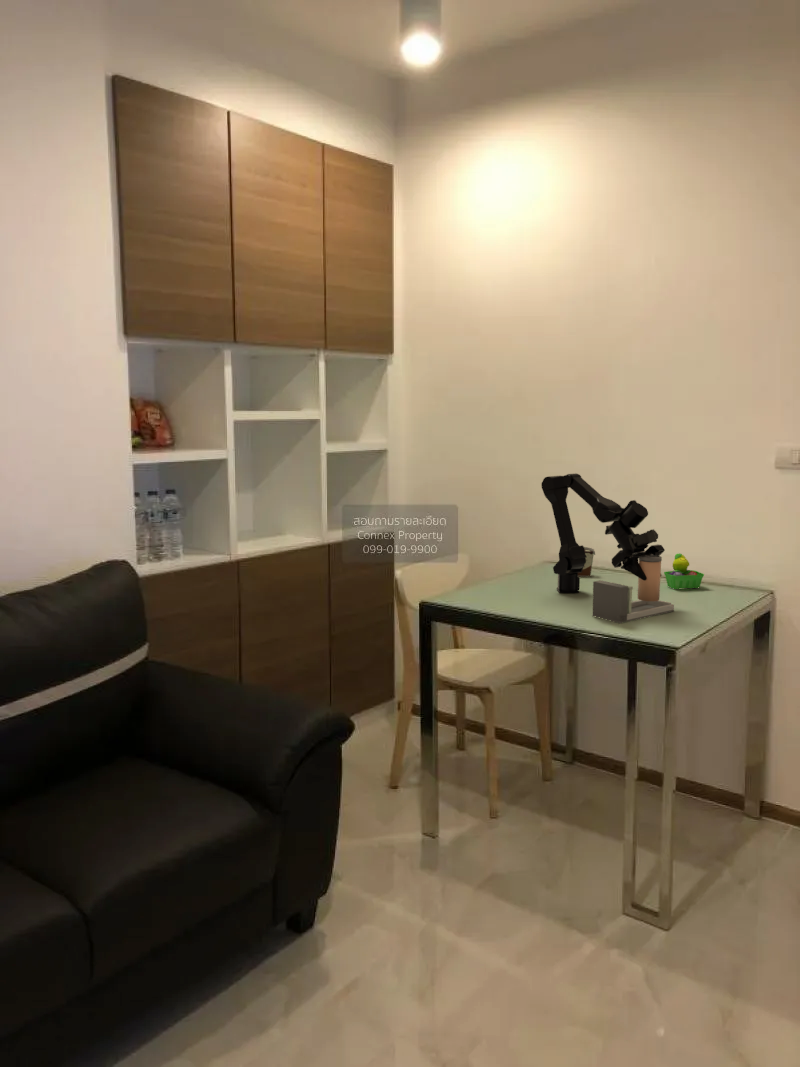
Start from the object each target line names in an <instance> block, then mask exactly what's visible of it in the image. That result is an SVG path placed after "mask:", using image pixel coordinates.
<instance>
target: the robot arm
mask: <svg viewBox="0 0 800 1067" xmlns="http://www.w3.org/2000/svg"><path fill="white" fill-rule="evenodd" d="M540 484H541V489H542V492H543V495H544V497H545V498H546V499H547V501H548V502H549V503H550V505H551V508H552V512H553V517H554V521H555V524H556V525H555V526H556V529H557V530H556V531H557V533H558V538H559V542H560V548H559V551H558V559H559V560H558V561H557V562H556V564H554V566H553V567H552V569H553V570H552V571H553V574H554V575H557V587H556V590H557V592H558V593H560V594H566V593H567V594H569V593H572V594H575V593H576V594H577V593H579V592H580V586H581V585H580V584H581V582H580V580H581V579H580V576H578V573H581V572H582V570H583V567H584V565H585V563H586V558H585V557H587V556H586V555H585V551H584V547H585V546H584V545H582V544H581V545H580V544H579V543H577V541H576V538H575V537H576V536H575V533H574V532H575V531H574V529H573V525H572V520H571V516H570V515H571V514H570V512H569V507H568V504H567V498H568V494H569V488H570V489H571V490H572V491H573V492H574V493H575V494H577V495H578V496H579V497H580V498H581V499H582V500H583V501H584V502H585V503H586V504H587V505H588V506H589V507H590V508H591V510H592V513H593V515H594V516H595V517H596V519H597V520H598V521H599V522H600V523H602V524H605V523H611V524H610V525H605V531H604V534H605V535H612V536H613V538H614V539H615V540H616V542H617V543H618V544H617V546H616V547H617V549H618V552H617V553H616V554H615V555H614V556H612V558H611V564H612V566H613V568H614V569H617V568H620V569H622V570H625V571H627V572H629V573H631V574H632V575H634V576H636V577H637V578H638V577H639V578H641V579H642V580H644V581H645V580H646V579H647V577H646V575H645V573H644V572H643V570H642V568H641V566H640V565H639V556H640V555H657V556H661V555H662V554H663V553H665V548H664V547H663V545H662V544H652V543H656V542H657V541H658V539H659V533H658V532H657V530H655V528H653V529H649V530H647V531H645V532H643V533H635V532H634V531H633V529H635V528H637V527H638V526H639V525H640V524H641V523H642V522H643V521H644V520H645V519H647V517H648V515H649V511H648V509H647V507H645V506H644V505H642V504H641V503H639V502H637V500H636V499H634V500H630V501H629V502H628V503H627V505H626V506H625V507H622V506H621V505H620V504H619V503H617V502H616V501H614V500H613V499H610V498H606V497H604V496H603V495H602V494H601V493H599V491H597V490H596V489H594V487H592V486H591V485H590V484H589V482H587V481H586V480H584V479H583V477H582V476H581V474H579V473H576V472H575V473H567V474H565V475H552V476H551V475H550V476H546V477H544V478H543V479H542V482H541V483H540ZM649 544H652V545H650V546H649ZM619 549H621V550H619ZM662 576H663V575H662V574H661V577H662Z"/></svg>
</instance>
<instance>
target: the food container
mask: <svg viewBox="0 0 800 1067" xmlns="http://www.w3.org/2000/svg"><path fill="white" fill-rule="evenodd" d="M584 551H585V555H586V556H587V557H585V558H586V563H585V565H584V567H583V570H582V572H581V573H578V577H588V576H592V575H591V574H592V569H593V562H594V556H596V551H595V549H594V548H592V547H586V546H584Z"/></svg>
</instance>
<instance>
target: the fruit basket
mask: <svg viewBox="0 0 800 1067" xmlns="http://www.w3.org/2000/svg"><path fill="white" fill-rule="evenodd" d="M689 566H690V562H689V560H688V559H687V558H686V557H685V555H684V554H682V553H679V552H678V553H676V554H675V556H674V560H673V562H672V568H673V570H669V571H664V572H663V574H664V576H665V580H666V584H667V587H668V586H669V587H668V588H670V587H671V588H670V589H672V588H674V589H678V590H680V589H679V588H698V587H699V588H700V586H701V584H702V580H703V578H704V576H705V573H702V572H699V571H697V570H691V569H688V567H689ZM699 588H698V589H699ZM674 589H673V590H674Z"/></svg>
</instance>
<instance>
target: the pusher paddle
mask: <svg viewBox="0 0 800 1067" xmlns="http://www.w3.org/2000/svg"><path fill="white" fill-rule="evenodd" d="M611 583H615V584H618V583H617V582H611ZM619 584H620V585H623V584H621V583H619ZM624 585H625V584H624ZM625 586H628V602H627V614H628V613H631V607H632V601H633V599H632V597H633V589H634V588H633V586H631V585H625Z"/></svg>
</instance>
